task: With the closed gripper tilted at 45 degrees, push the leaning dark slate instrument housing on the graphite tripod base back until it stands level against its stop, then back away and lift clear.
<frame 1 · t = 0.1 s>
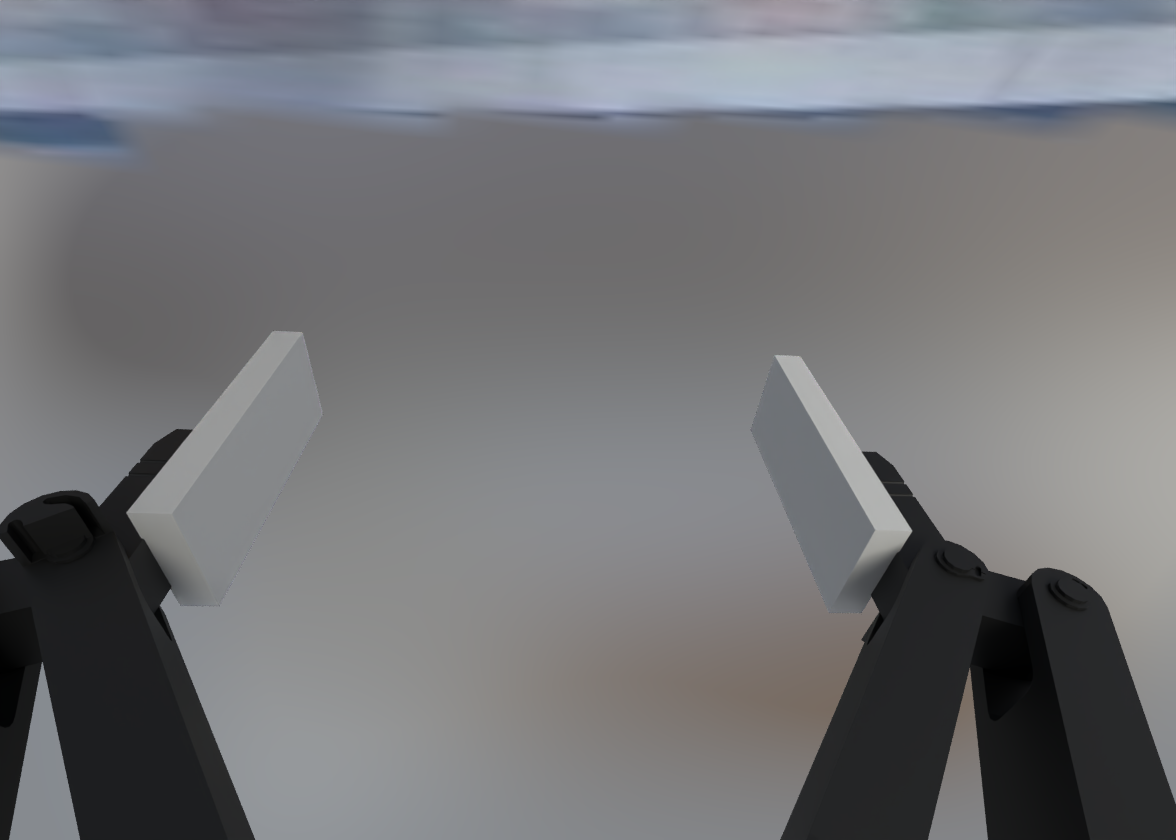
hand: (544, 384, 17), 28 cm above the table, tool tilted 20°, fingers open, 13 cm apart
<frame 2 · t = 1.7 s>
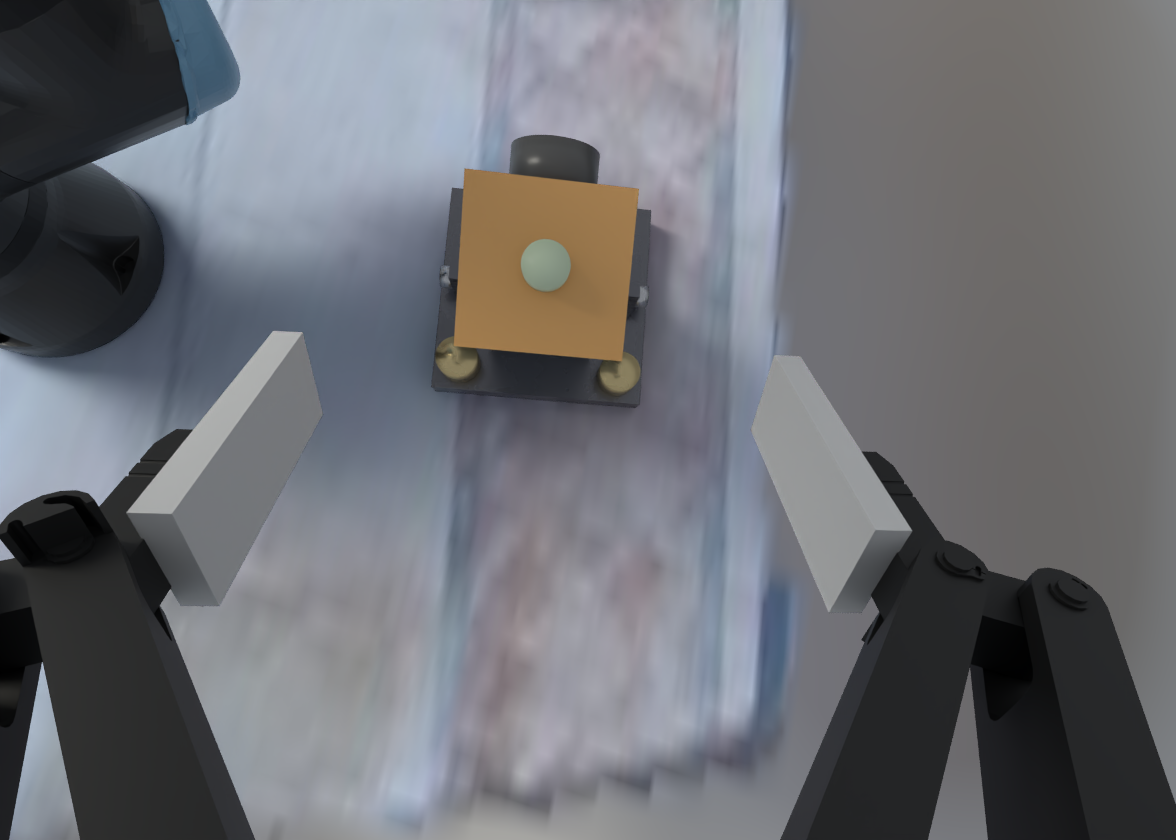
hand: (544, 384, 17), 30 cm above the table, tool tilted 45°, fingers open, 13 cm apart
leveling base: (544, 303, 47), on the table
instrument housing: (547, 260, 36), point 12 cm above the table, hinge at 14.0°
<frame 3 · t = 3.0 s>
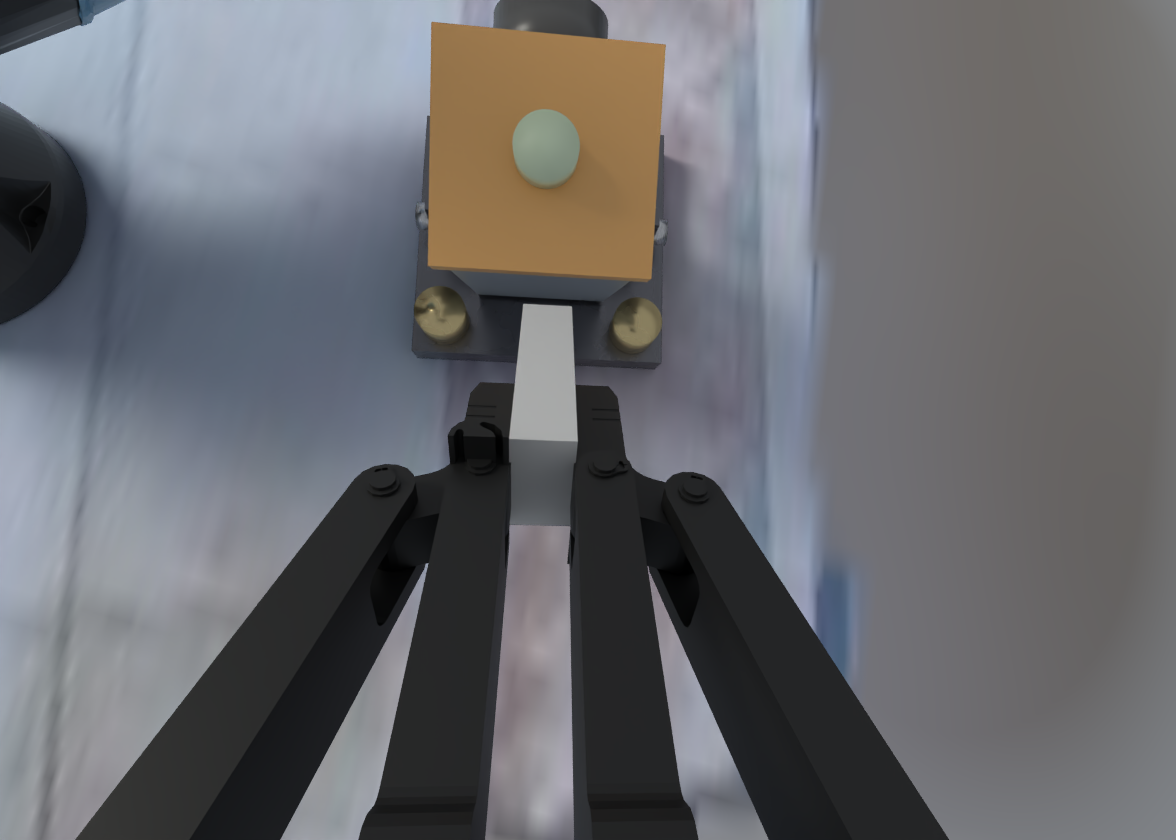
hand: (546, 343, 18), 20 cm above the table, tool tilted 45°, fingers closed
leveling base: (542, 250, 40), on the table
instrument housing: (545, 173, 28), point 12 cm above the table, hinge at 14.0°
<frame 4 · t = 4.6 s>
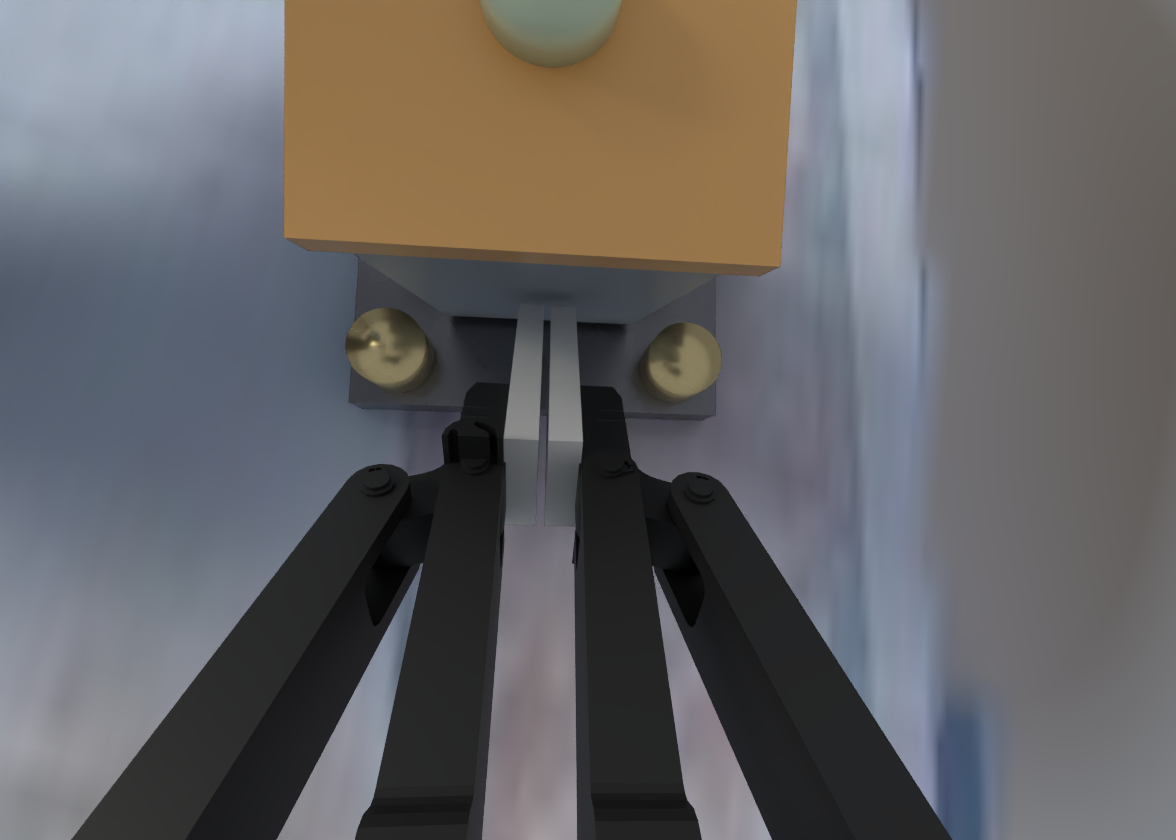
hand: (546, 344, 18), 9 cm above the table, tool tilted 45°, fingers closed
leveling base: (542, 252, 28), on the table
instrument housing: (547, 103, 16), point 12 cm above the table, hinge at 10.8°, touching gripper
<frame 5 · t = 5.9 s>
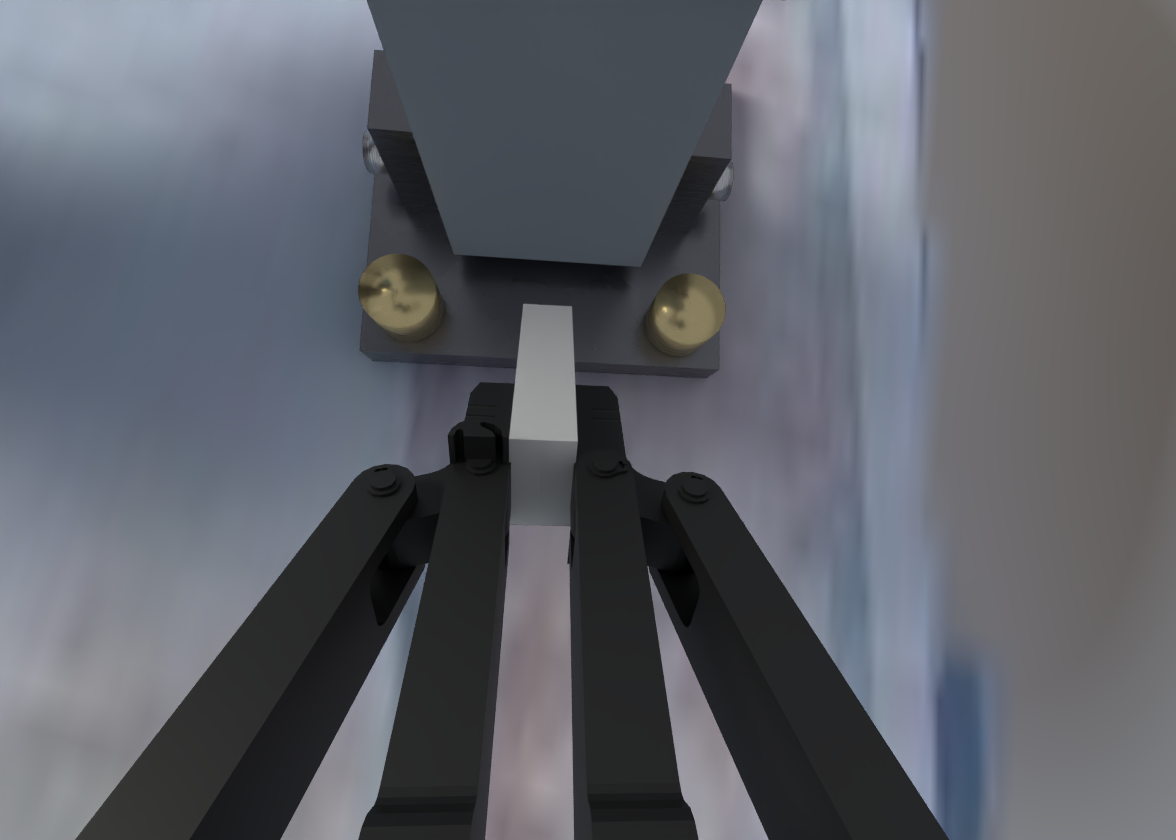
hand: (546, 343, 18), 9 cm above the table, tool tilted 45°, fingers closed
leveling base: (550, 212, 29), on the table
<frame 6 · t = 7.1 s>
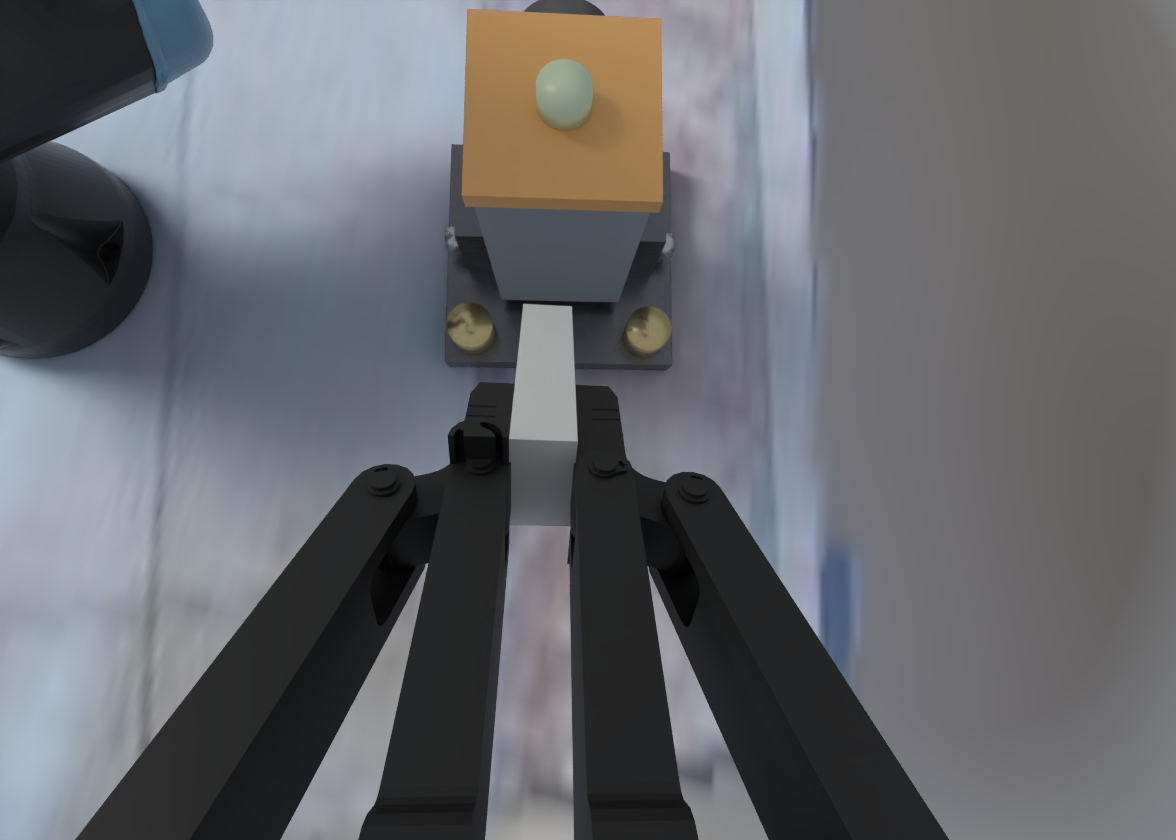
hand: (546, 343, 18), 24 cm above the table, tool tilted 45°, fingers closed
leveling base: (560, 263, 43), on the table
instrument housing: (562, 162, 32), point 12 cm above the table, hinge at -0.2°
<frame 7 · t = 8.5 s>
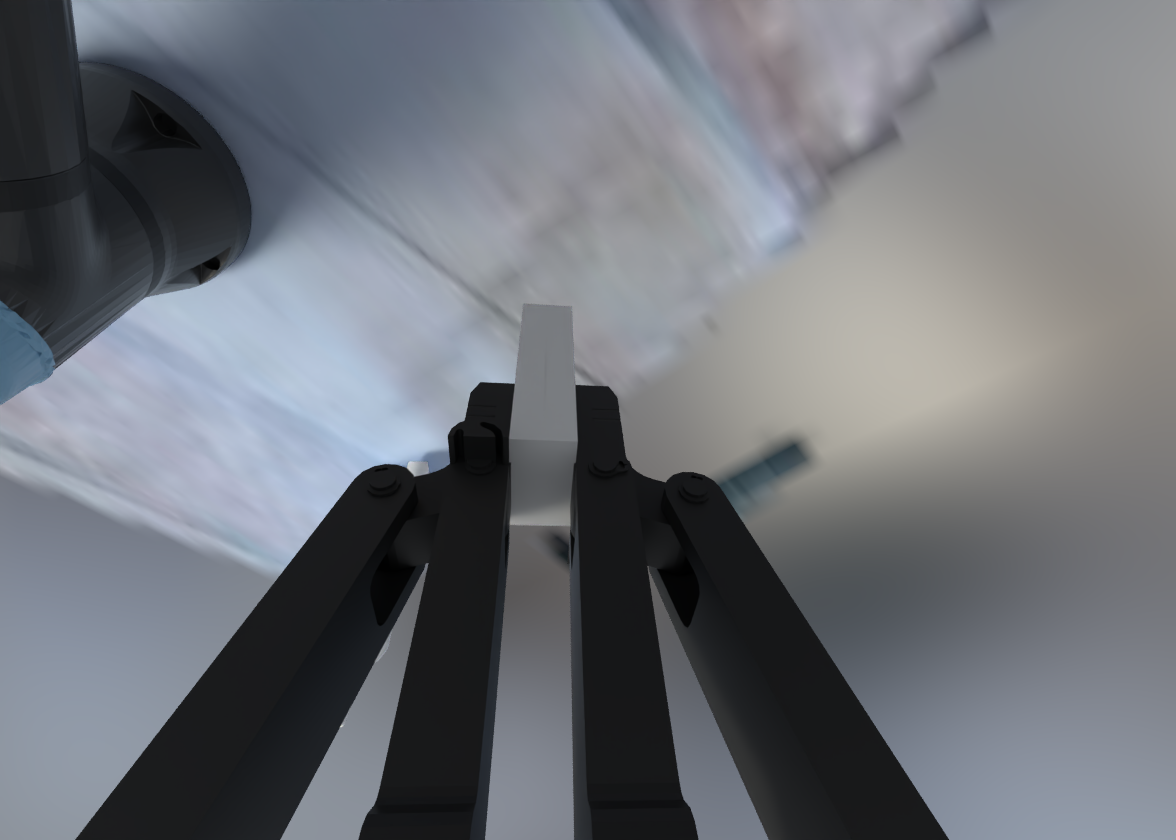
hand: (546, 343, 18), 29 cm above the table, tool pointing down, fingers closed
fire extinguisher: (399, 483, 62), on the table
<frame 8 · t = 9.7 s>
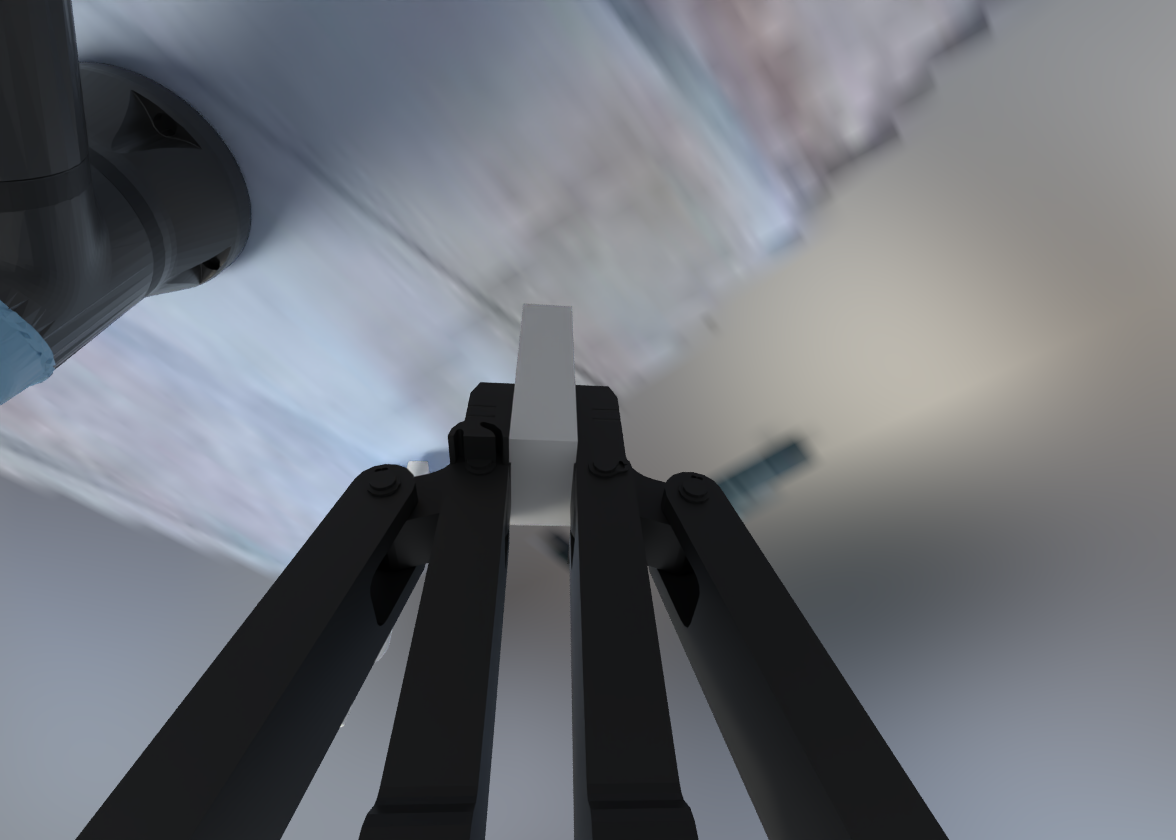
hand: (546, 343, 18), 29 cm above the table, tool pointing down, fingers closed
fire extinguisher: (399, 482, 62), on the table
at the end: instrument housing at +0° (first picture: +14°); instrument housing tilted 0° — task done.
